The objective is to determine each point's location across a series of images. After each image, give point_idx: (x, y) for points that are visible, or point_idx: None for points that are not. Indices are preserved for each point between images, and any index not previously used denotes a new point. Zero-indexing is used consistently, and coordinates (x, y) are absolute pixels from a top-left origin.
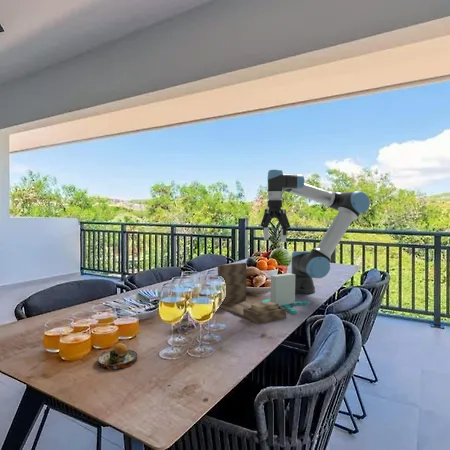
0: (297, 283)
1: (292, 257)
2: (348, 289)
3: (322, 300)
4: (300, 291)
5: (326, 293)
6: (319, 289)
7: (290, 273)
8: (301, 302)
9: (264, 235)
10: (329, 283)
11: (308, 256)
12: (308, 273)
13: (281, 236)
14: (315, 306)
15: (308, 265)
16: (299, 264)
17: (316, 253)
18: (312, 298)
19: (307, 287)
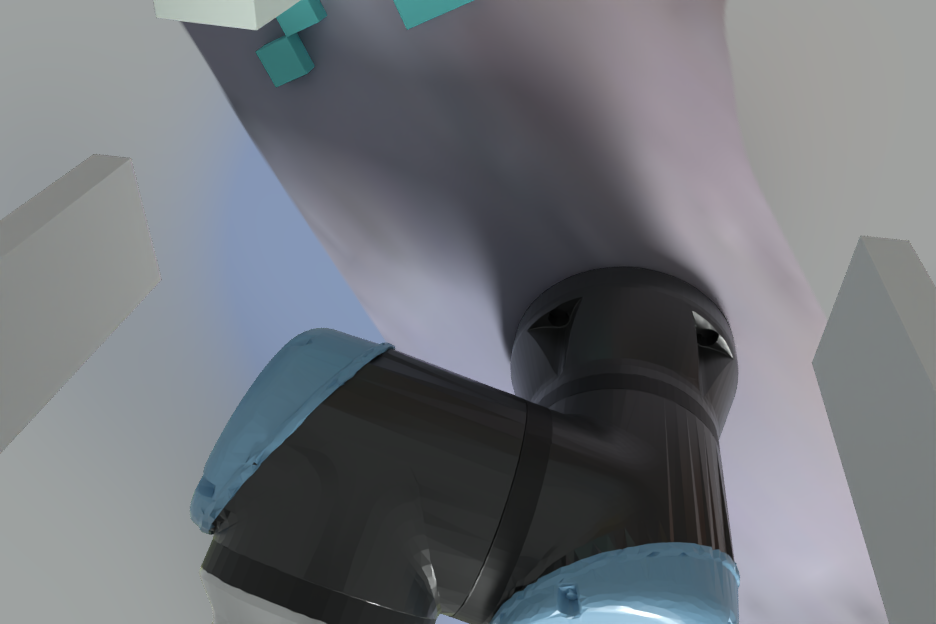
0: (588, 330)
1: (681, 543)
2: None
3: (322, 244)
4: (557, 291)
5: None
6: None
7: (233, 17)
8: None
9: (915, 322)
10: None
11: (364, 508)
12: (366, 341)
13: (20, 229)
14: (212, 69)
15: (315, 377)
16: (511, 432)
17: (257, 550)
18: (401, 236)
19: (521, 350)
